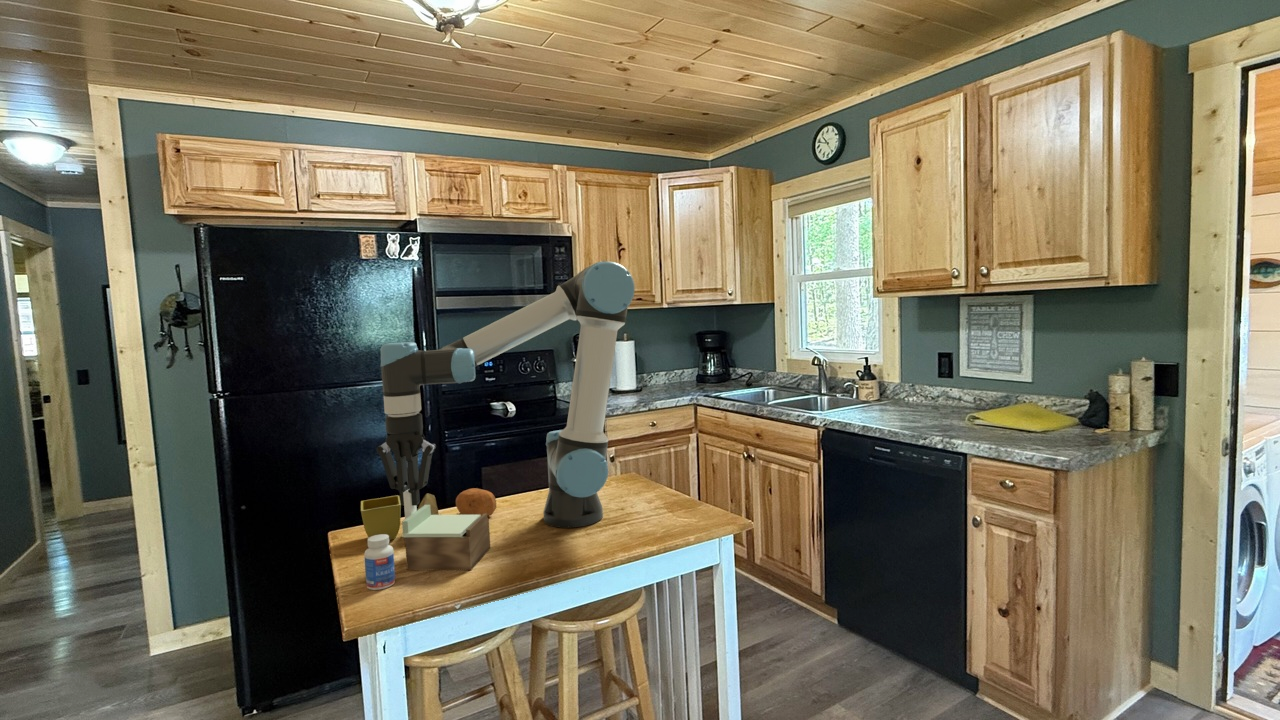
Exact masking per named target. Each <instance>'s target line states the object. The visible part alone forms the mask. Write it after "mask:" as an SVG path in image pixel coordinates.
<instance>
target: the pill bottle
mask: <svg viewBox="0 0 1280 720" xmlns="http://www.w3.org/2000/svg"><path fill="white" fill-rule="evenodd" d="M367 547H368V548H366V550H365V551H364V557H363V558H364V569H365V585H366V588H367V589H369V590H370V591H379V590H384V589H388V588H389V587H392V586H393V585H394V584H395V582H396V574H395V557H394V555H395V554H394V548H393V546H392V545H390V540H389V536H388V535H386V534H379V535H374V536H371V537H367Z"/></svg>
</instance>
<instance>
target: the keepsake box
mask: <svg viewBox="0 0 1280 720" xmlns="http://www.w3.org/2000/svg"><path fill="white" fill-rule="evenodd" d="M490 533H491V532H490V519H489V517H488V516H487V513H484V514H482V515H481V516H480V517H479V518H478V519H477V520H476V521H475V522H474V523H473V524H472V525H471V526H470V527H469V528H468V529H467V530H466V533H465V534H464V535H463V536H461V537H404V541H405V542H404V543H405V544H404V545H405V555H406V556H405V557H406V558H405V559H406V567H407V568H406V570H407V571H472V570H473V569H474V568H475V566H476V565H477V564H478V563H479V562H480V561H481V560H482V559H483V557H484V556H485V555H486V554H487V553H488V552H489V550H490V549H491V534H490Z"/></svg>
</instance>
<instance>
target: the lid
mask: <svg viewBox="0 0 1280 720" xmlns="http://www.w3.org/2000/svg"><path fill="white" fill-rule="evenodd" d="M480 516H481V515H461V514H439V515H431V508H430V505H424V506H423V507H421V508H420V509H419V510H417V511H416V512H414V513H413V514H412V515H410V516H409V517H408V518H406V519H404V520H402V521H401V522H402V523H401V525H402V534H401V537H402V538H405V537H461V536H463V535H464V534H465V533H466V530H467V529H468V528H469V527H470V526H471V525H472V524H473V523H474V522H475V521H476V520H477V519H478V518H479V517H480Z"/></svg>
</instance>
